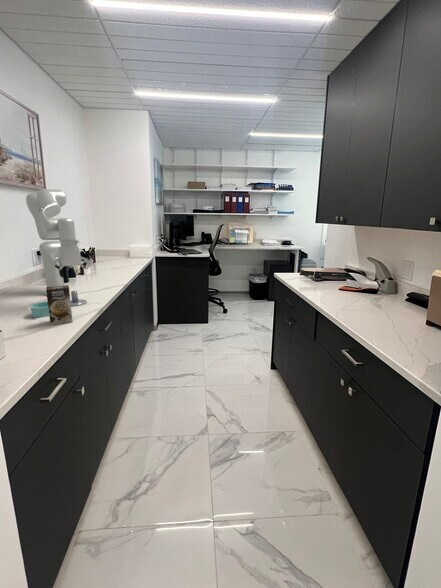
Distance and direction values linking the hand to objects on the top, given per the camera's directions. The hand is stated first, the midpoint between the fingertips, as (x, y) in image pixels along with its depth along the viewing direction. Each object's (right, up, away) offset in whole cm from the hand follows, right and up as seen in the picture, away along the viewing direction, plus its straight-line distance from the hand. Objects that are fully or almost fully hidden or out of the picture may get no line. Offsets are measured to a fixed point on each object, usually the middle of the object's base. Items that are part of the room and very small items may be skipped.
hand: (72, 276), depth 162 cm
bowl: (-7, -19, -12) cm, 24 cm away
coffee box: (+6, -22, -22) cm, 32 cm away
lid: (0, -15, +4) cm, 15 cm away
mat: (0, -15, +4) cm, 16 cm away
